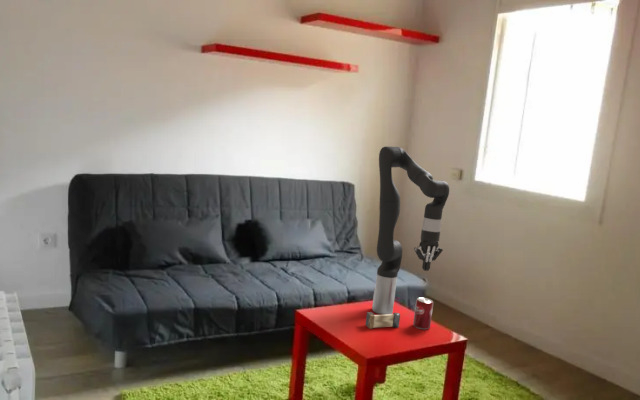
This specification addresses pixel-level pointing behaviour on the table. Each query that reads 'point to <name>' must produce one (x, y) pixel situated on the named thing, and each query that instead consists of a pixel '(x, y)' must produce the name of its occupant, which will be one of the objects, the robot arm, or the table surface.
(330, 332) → the table surface
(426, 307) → the soda can
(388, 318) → the gate
